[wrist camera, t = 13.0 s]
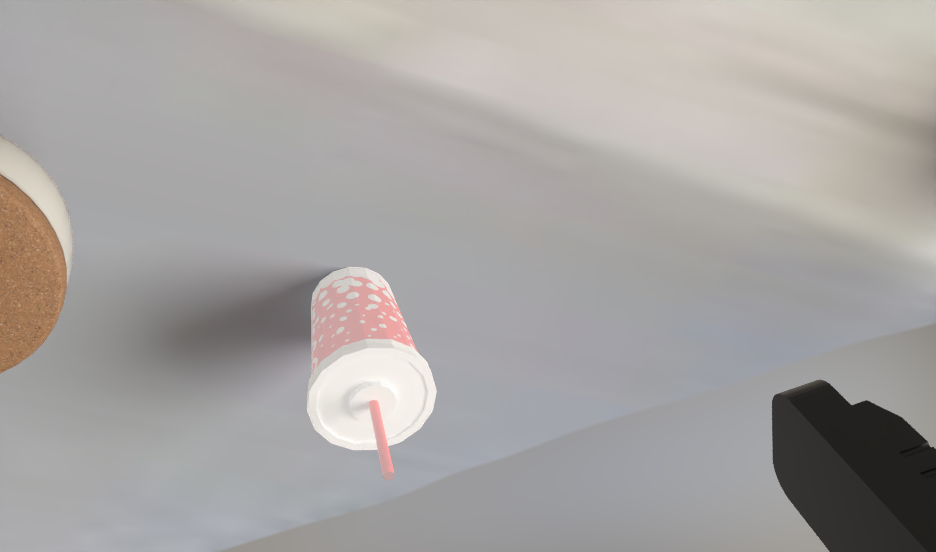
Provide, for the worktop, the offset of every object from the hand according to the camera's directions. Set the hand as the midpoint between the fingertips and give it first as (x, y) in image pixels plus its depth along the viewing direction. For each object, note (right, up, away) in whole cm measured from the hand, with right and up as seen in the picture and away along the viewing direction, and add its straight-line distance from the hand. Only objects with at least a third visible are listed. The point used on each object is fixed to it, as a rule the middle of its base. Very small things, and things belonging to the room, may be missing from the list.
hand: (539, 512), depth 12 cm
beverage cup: (-8, +2, +33) cm, 34 cm away
